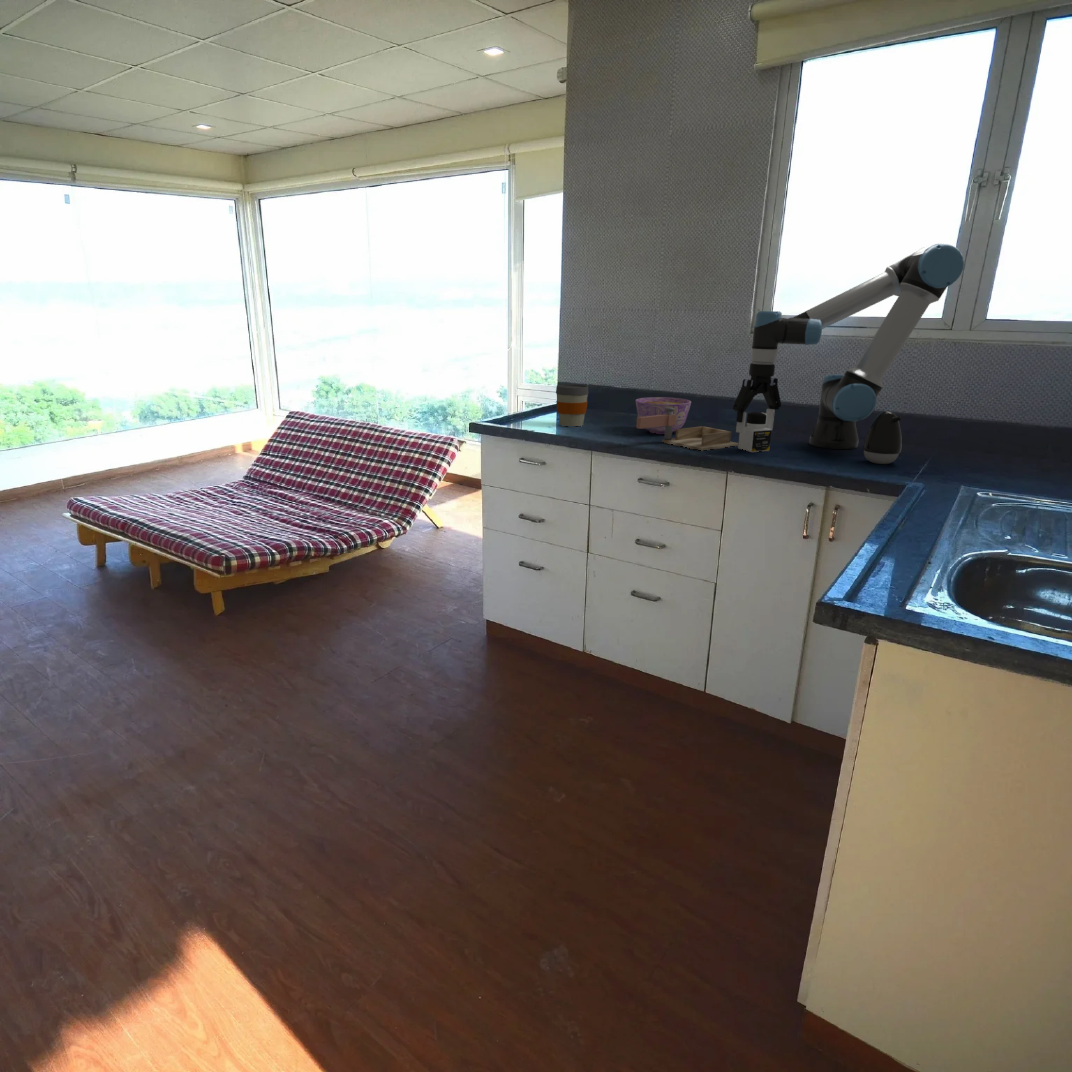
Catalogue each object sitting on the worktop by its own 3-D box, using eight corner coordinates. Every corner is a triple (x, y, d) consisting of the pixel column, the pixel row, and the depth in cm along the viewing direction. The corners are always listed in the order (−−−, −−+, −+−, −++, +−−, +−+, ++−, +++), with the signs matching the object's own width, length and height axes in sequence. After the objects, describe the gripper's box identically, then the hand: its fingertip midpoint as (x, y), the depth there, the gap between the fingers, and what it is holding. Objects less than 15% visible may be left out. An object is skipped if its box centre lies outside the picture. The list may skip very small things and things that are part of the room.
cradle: (737, 446, 229) (739, 432, 228) (701, 451, 220) (702, 437, 219) (698, 437, 243) (699, 424, 242) (662, 442, 235) (663, 429, 233)
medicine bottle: (751, 452, 219) (755, 414, 215) (737, 448, 225) (741, 411, 221) (769, 451, 221) (774, 413, 218) (755, 447, 228) (759, 410, 224)
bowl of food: (690, 438, 243) (693, 405, 239) (633, 436, 246) (634, 403, 242) (687, 428, 261) (690, 397, 258) (634, 427, 264) (636, 396, 261)
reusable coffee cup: (550, 423, 271) (551, 384, 266) (580, 422, 275) (581, 383, 270) (561, 428, 260) (562, 388, 255) (592, 427, 263) (593, 387, 259)
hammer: (640, 443, 226) (642, 411, 222) (634, 442, 228) (635, 410, 225) (674, 439, 234) (676, 408, 230) (668, 437, 236) (670, 407, 233)
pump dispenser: (878, 467, 200) (886, 414, 195) (853, 459, 209) (861, 409, 205) (907, 465, 203) (916, 413, 198) (881, 458, 212) (889, 408, 207)
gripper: (778, 361, 224) (770, 426, 231) (725, 363, 211) (718, 432, 218) (798, 362, 218) (789, 429, 225) (745, 365, 205) (736, 435, 212)
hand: (754, 431), depth 221 cm, fingers open, 13 cm apart
